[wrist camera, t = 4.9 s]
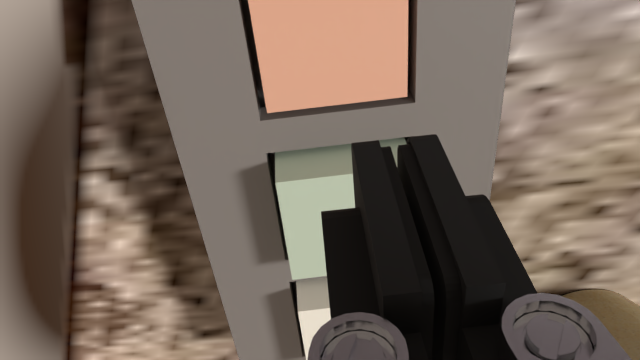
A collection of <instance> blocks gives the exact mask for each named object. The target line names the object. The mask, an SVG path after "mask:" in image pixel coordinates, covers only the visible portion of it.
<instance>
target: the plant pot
mask: <svg viewBox="0 0 640 360" xmlns="http://www.w3.org/2000/svg"><path fill="white" fill-rule="evenodd" d="M562 296H563V297H565V298H568V299H571V300H574V301H576V302H577V303H579V304H581V305H582V306H584V307H586V308H587V309H589V310H590V311H591V312H592V313H593V314H594V315H595V316H596V317H597V318H598V319H599V320H600V321H601V322H602V324H603V325H604V326H605V327H606V328H607V330H608V331H609V332H610V333H611V335H612V336H613V337H614V338H615V339H616V341H617V342H618V343H619V344H620V346H621V347H622V348H623V349H624V351H625V352H626V353H627V354H628V355H629V357H630V358H631V359H632V360H640V306H638V305H637V304H635V303H634V302H632V301H630V300H629V299H627V298H625V297H624V296H622V295H620V294H618V293H615V292H612V291H608V290H601V289H593V290H581V291H576V292H572V293H569V294H565V295H562Z"/></svg>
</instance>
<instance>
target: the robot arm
mask: <svg viewBox="0 0 640 360" xmlns="http://www.w3.org/2000/svg"><path fill="white" fill-rule="evenodd" d="M351 153H352V168H353V183H354V198H355V208H348V209H339V210H330V211H321V219H322V229H323V240H324V251H325V262H326V273H327V283H328V294H329V305H330V316H331V320H329V321H328V322H327V323H325V324H324V325H323V326H321V327H320V329H319V330H318V331H317V333H316V334H315V335H314V337H313V338H312V341H311V345H310V348H309V352H308V360H632V359H631V358H630V357H629V355H628V354H627V353H626V352H625V351H624V349H623V348H622V347H621V346H620V344H619V343H618V342H617V341H616V339H615V338H614V337H613V336H612V335H611V333H610V332H609V331H608V330H607V328H606V327H605V326H604V325H603V324H602V322H601V321H600V320H599V319H598V318H597V317H596V316H595V315H594V314H593V313H592V312H591V311H590V310H589V309H587V308H586V307H584V306H582V305H581V304H579V303H577V302H576V301H574V300H571V299H568V298H565V297H563V296H560V295H555V294H547V293H537V291H536V290H535V288H534V286H533V284H532V282H531V280H530V278H529V276H528V274H527V272H526V270H525V268H524V266H523V265H522V263H521V261H520V259H519V257H518V255H517V253H516V251H515V249H514V247H513V245H512V243H511V241H510V239H509V238H508V236H507V234H506V232H505V230H504V228H503V226H502V224H501V222H500V220H499V218H498V216H497V214H496V212H495V211H494V209H493V207H492V205H491V203H490V201H489V199H488V198H487V197H486V196H485V195H483V194H480V195H471V196H465V194H464V192H463V190H462V187H461V185H460V183H459V181H458V179H457V177H456V175H455V172H454V170H453V168H452V166H451V164H450V162H449V159H448V157H447V155H446V153H445V151H444V149H443V147H442V144H441V142H440V140H439V138H438V136H437V135H436V134H431V135H422V136H412V137H408V138H407V144H405V145H398V148H397V166H396V162H395V159H394V156H393V153H392V150H391V147H390V146H387V147H381V145H380V142H379V140H375V141H366V142H356V143H351Z"/></svg>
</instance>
